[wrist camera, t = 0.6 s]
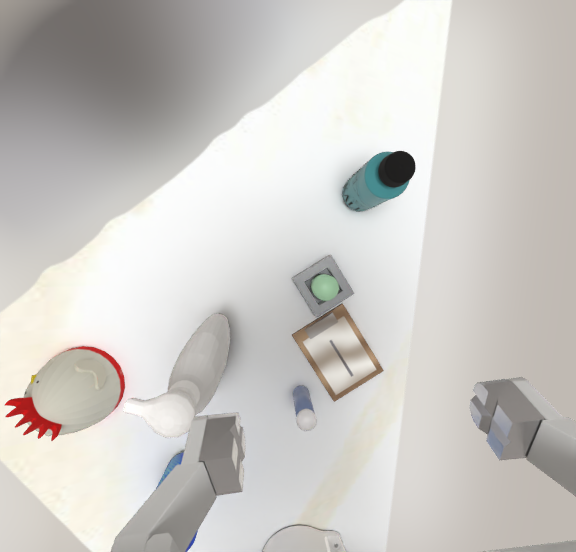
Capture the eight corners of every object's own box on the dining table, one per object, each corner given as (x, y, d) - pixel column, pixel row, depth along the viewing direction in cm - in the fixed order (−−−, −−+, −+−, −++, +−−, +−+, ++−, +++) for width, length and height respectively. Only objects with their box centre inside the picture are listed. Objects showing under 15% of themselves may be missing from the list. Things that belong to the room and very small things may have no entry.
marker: (312, 395, 60) (320, 424, 50) (298, 404, 60) (303, 434, 50) (303, 382, 60) (310, 408, 50) (289, 391, 60) (293, 418, 50)
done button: (338, 289, 58) (343, 292, 54) (318, 302, 58) (321, 305, 54) (326, 269, 57) (330, 270, 54) (305, 281, 57) (308, 283, 54)
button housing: (350, 291, 59) (354, 293, 57) (314, 314, 59) (316, 317, 56) (328, 255, 58) (331, 255, 56) (291, 278, 58) (292, 279, 56)
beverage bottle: (378, 183, 58) (434, 146, 38) (368, 218, 58) (419, 200, 38) (344, 172, 57) (383, 130, 38) (334, 208, 58) (367, 185, 38)
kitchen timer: (85, 330, 57) (20, 358, 42) (140, 384, 58) (95, 429, 43) (29, 383, 57) (-56, 428, 42) (85, 435, 59) (22, 497, 44)
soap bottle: (199, 300, 58) (135, 342, 31) (242, 311, 58) (217, 361, 31) (179, 376, 59) (102, 480, 32) (222, 386, 59) (182, 497, 32)
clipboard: (382, 369, 60) (385, 372, 59) (333, 400, 60) (334, 403, 59) (342, 303, 59) (343, 304, 58) (292, 334, 59) (292, 336, 58)
